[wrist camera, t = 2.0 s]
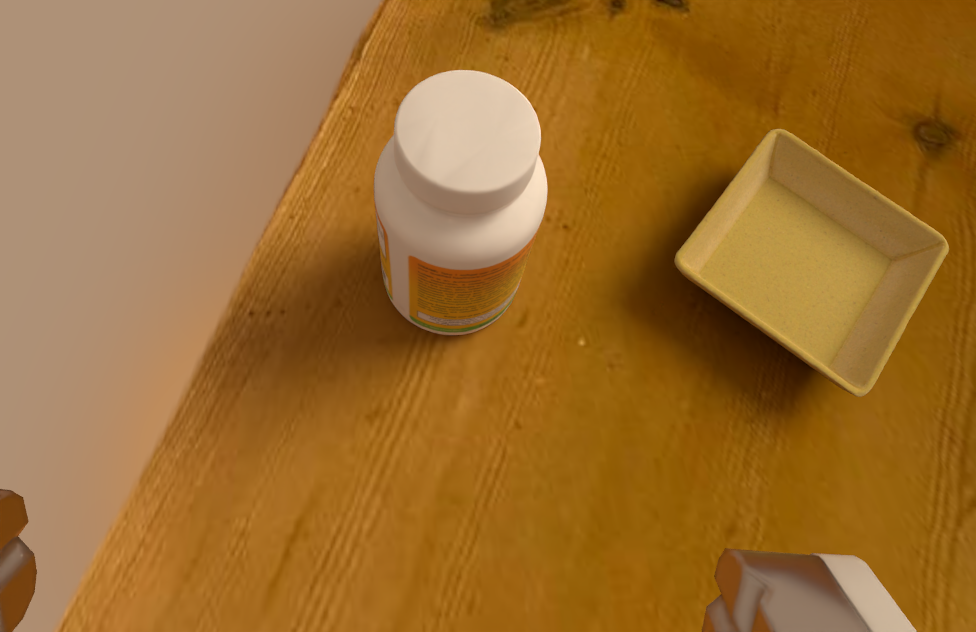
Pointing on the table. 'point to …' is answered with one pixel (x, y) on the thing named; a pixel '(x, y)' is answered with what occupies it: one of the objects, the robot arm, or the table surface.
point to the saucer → (814, 260)
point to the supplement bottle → (459, 200)
